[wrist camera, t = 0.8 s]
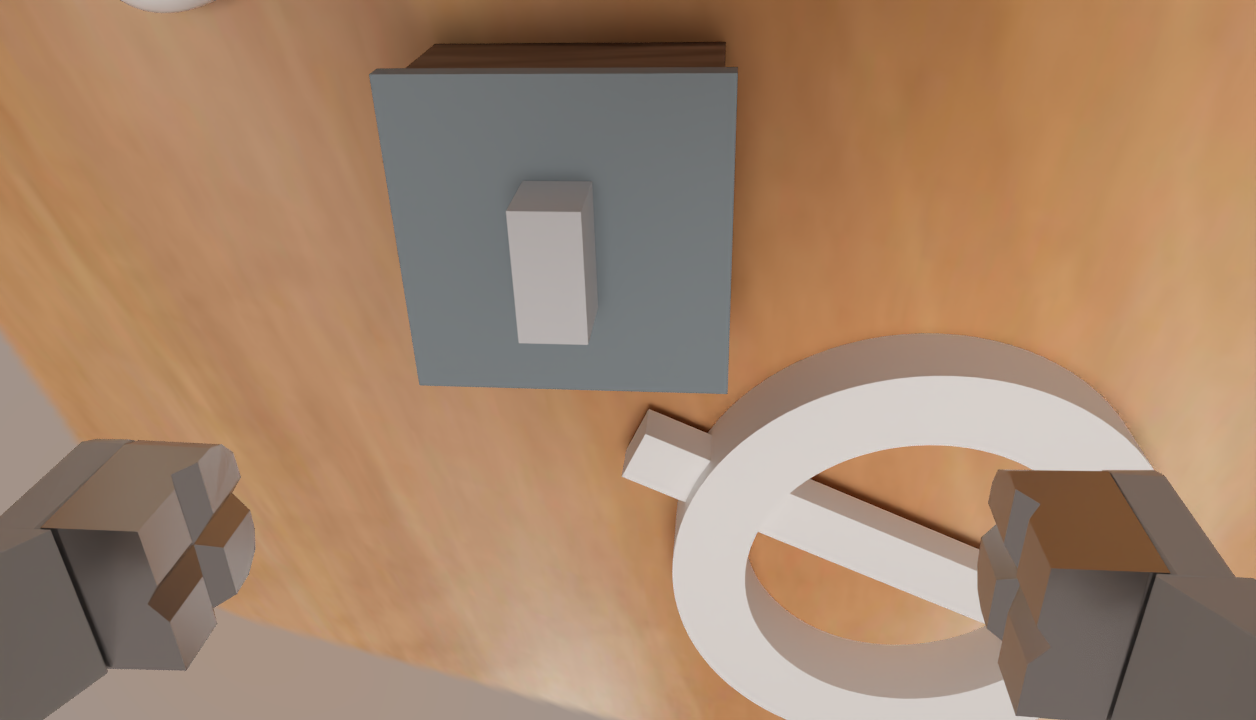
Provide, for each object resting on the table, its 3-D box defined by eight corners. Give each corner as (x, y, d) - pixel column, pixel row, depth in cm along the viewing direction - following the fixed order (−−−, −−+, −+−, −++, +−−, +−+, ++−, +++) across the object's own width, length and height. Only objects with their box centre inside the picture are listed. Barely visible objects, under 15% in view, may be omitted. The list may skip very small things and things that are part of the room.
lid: (383, 64, 40) (338, 97, 36) (737, 62, 39) (738, 97, 34) (429, 366, 48) (398, 425, 43) (727, 374, 46) (727, 436, 42)
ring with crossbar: (609, 407, 56) (600, 454, 52) (1110, 266, 49) (1145, 309, 45) (754, 715, 68) (755, 773, 64) (1170, 640, 61) (1202, 700, 57)
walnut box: (434, 43, 46) (390, 80, 40) (725, 42, 44) (724, 79, 38) (467, 302, 53) (433, 366, 47) (718, 307, 52) (717, 373, 46)
